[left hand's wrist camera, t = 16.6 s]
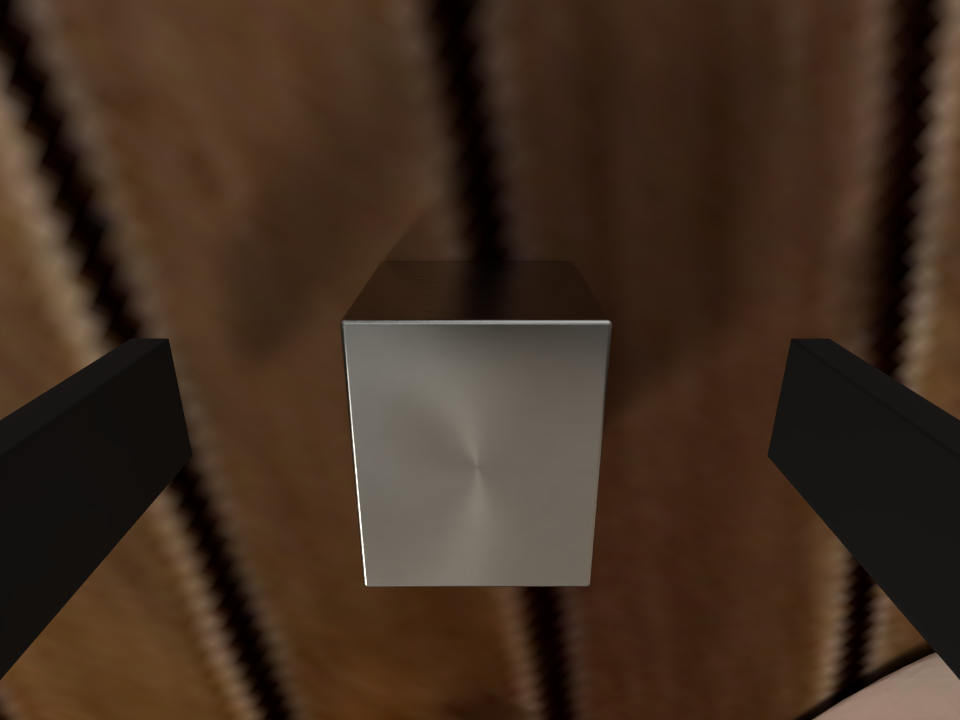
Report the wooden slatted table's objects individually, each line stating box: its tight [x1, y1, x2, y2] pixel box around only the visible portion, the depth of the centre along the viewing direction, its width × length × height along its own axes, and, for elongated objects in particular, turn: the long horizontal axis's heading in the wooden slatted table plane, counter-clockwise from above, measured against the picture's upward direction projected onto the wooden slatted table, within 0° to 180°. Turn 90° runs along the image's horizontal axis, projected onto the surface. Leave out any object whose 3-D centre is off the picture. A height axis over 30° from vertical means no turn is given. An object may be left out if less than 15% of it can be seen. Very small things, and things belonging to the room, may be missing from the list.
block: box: [340, 262, 612, 587], centre depth 12 cm, size 5×4×4 cm
